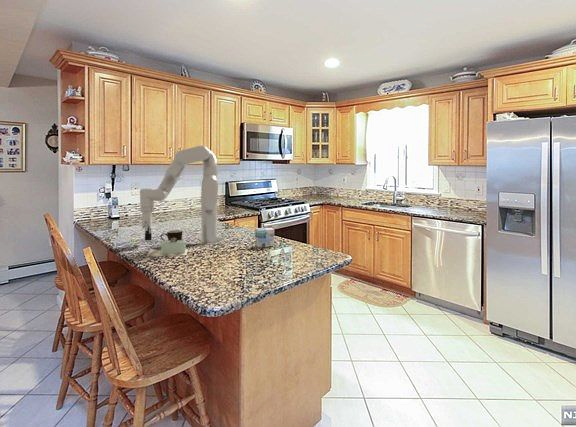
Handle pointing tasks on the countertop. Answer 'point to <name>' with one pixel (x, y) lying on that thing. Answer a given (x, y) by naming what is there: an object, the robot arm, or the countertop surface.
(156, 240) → the t key
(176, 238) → the coffee mug
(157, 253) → the base plate
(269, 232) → the light bulb box
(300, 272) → the countertop surface
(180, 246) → the slotted block
